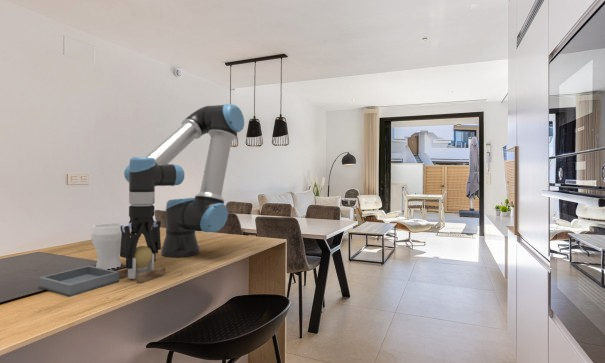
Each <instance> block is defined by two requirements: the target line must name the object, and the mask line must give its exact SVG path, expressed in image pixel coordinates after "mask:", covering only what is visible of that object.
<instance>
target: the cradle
mask: <svg viewBox="0 0 605 363" xmlns="http://www.w3.org/2000/svg"><path fill="white" fill-rule="evenodd" d="M116 271H117V272H119V280H120V279H122V278H128V269H127V268H126V267H125V268H121V269H118V270H116ZM165 275H166V267H163V266H161V267H158V268H154V270H151V271H148V272H144V273H141V274H138V275H136V279H135V282H136V284H142V283H145V282H148V281H151V280H154V279H157V278H160V277H163V276H165Z"/></svg>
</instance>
